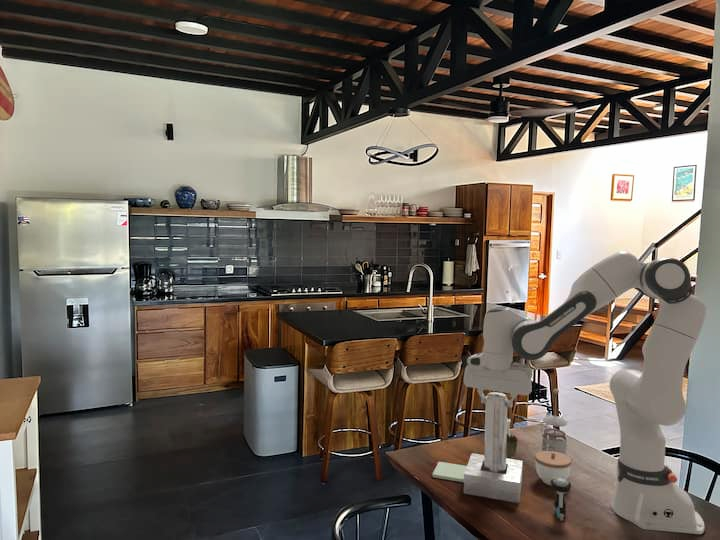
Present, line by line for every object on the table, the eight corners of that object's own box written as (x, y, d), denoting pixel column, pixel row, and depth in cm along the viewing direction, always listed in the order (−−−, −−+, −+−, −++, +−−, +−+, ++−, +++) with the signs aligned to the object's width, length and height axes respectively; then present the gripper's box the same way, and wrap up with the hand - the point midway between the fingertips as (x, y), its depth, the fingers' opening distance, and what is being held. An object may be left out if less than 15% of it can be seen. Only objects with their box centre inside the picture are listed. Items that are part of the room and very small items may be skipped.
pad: (468, 469, 174) (468, 466, 174) (463, 482, 165) (463, 479, 165) (438, 464, 178) (438, 461, 178) (432, 477, 168) (432, 474, 168)
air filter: (509, 473, 162) (511, 394, 161) (499, 480, 158) (501, 398, 156) (490, 467, 167) (492, 389, 165) (480, 474, 162) (481, 394, 160)
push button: (572, 523, 142) (573, 487, 141) (551, 520, 143) (552, 485, 143) (568, 510, 149) (569, 476, 148) (548, 508, 150) (549, 474, 149)
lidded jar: (532, 472, 173) (533, 444, 172) (566, 475, 171) (567, 447, 170) (536, 487, 162) (537, 458, 161) (573, 491, 160) (574, 461, 159)
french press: (549, 467, 176) (551, 394, 175) (530, 453, 188) (532, 384, 186) (574, 464, 179) (577, 392, 177) (554, 450, 190) (557, 382, 188)
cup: (517, 465, 177) (518, 442, 177) (495, 463, 179) (496, 440, 178) (515, 456, 185) (516, 434, 184) (494, 454, 186) (494, 432, 186)
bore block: (522, 479, 167) (522, 460, 167) (519, 503, 152) (519, 483, 152) (471, 470, 173) (471, 453, 172) (463, 493, 158) (464, 473, 157)
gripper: (535, 362, 157) (533, 407, 158) (468, 354, 168) (468, 396, 169) (530, 366, 152) (529, 413, 153) (462, 358, 162) (461, 402, 163)
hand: (496, 404), depth 161 cm, fingers closed on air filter, 6 cm apart
